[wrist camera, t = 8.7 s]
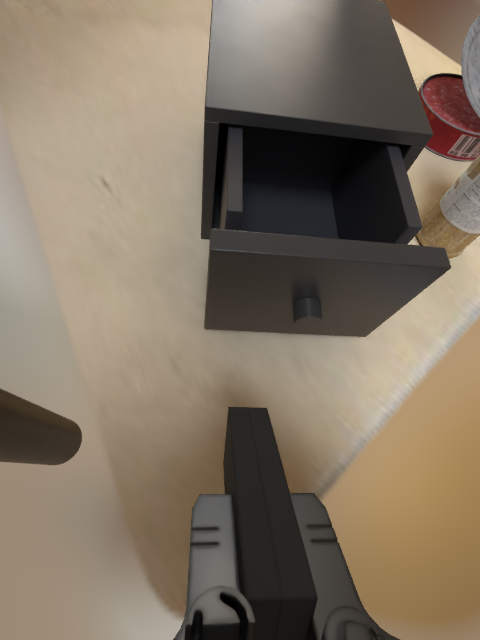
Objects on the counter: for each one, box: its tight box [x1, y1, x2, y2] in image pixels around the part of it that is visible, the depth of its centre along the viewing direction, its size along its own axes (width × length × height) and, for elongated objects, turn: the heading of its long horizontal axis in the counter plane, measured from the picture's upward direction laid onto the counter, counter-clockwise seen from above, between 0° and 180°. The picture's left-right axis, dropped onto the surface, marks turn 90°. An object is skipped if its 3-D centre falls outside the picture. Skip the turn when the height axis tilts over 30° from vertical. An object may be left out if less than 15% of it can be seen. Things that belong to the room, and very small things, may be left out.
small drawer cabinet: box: [201, 0, 433, 239], centre depth 26 cm, size 15×13×11 cm
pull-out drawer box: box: [204, 123, 451, 337], centre depth 22 cm, size 15×11×9 cm
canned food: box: [418, 15, 480, 161], centre depth 34 cm, size 11×10×10 cm
